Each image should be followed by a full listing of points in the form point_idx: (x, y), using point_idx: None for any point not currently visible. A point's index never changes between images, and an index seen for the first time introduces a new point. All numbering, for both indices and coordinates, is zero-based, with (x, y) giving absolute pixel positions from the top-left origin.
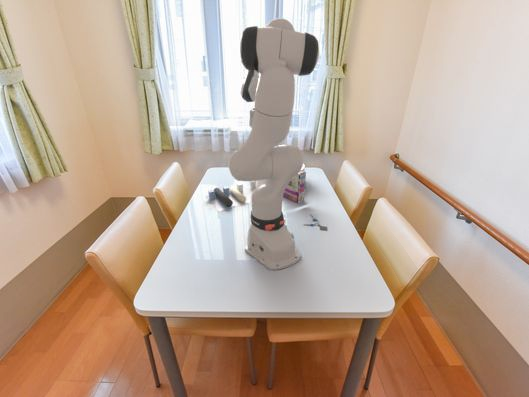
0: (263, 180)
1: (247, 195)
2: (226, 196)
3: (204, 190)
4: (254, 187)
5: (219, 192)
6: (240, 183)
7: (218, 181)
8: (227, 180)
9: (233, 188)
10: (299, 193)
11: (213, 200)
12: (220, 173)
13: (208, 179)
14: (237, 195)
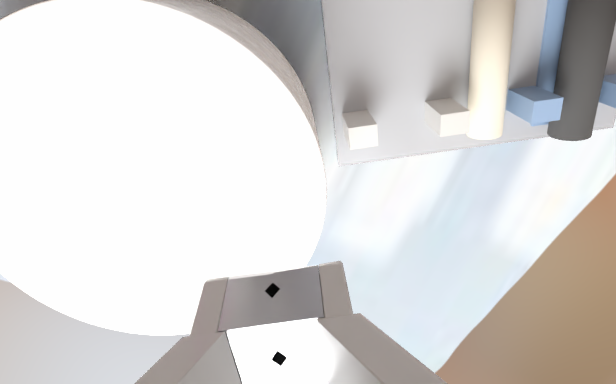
0: (306, 106)
1: (424, 47)
2: (600, 2)
3: (564, 203)
4: (352, 114)
5: (600, 75)
6: (447, 131)
7: (462, 267)
8: (420, 263)
9: (495, 107)
10: None
11: (607, 66)
12: (414, 336)
13: (490, 298)
14: (513, 18)
